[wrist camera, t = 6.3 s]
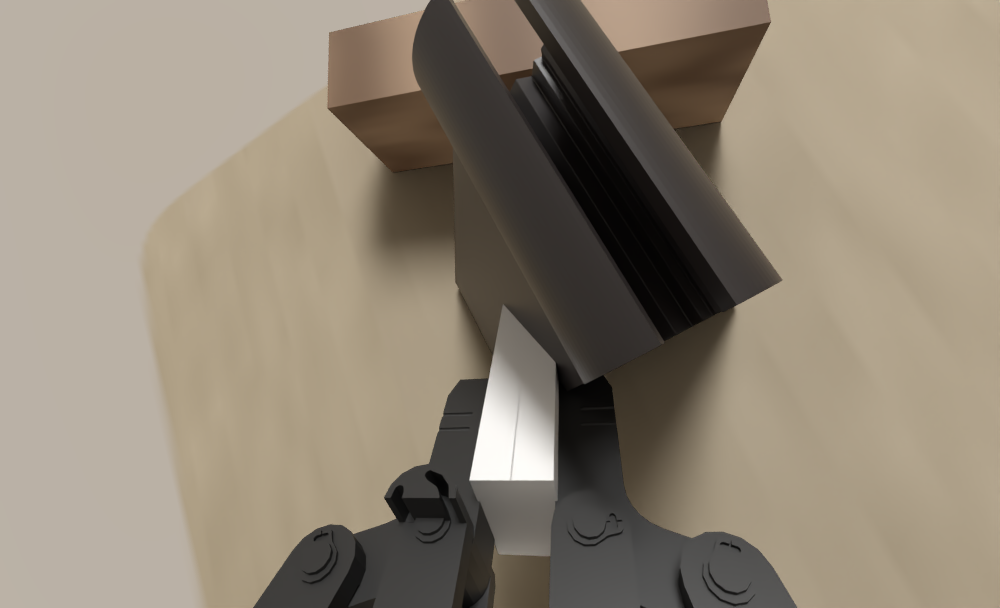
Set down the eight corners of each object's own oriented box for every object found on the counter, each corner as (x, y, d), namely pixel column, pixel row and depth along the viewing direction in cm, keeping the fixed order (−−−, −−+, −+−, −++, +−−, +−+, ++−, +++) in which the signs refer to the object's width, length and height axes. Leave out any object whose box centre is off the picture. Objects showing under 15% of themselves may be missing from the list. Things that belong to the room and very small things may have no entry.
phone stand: (650, 173, 17) (759, -229, 6) (737, 302, 16) (1115, 113, 4) (458, 283, 18) (221, 130, 7) (523, 413, 17) (364, 500, 5)
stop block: (711, 53, 17) (755, -68, 13) (721, 121, 17) (770, 21, 12) (392, 113, 20) (329, 32, 16) (392, 172, 20) (327, 108, 15)
